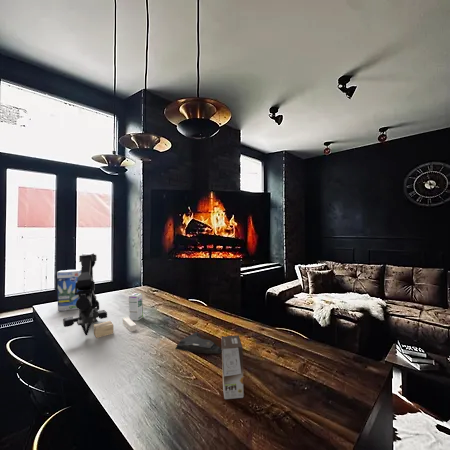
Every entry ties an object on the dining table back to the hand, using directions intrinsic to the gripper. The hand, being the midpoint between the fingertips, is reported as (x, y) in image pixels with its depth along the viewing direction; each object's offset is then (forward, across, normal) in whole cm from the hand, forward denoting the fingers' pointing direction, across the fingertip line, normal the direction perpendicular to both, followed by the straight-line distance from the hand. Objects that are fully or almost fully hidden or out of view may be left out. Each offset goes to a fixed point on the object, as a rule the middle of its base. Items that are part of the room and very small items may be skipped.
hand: (86, 335), depth 128 cm
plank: (+2, +21, 0) cm, 21 cm away
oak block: (+2, +8, 0) cm, 8 cm away
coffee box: (+2, +31, -77) cm, 83 cm away
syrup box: (+2, +28, +10) cm, 30 cm away
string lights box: (+2, 0, +60) cm, 60 cm away
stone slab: (+2, +39, -44) cm, 59 cm away
